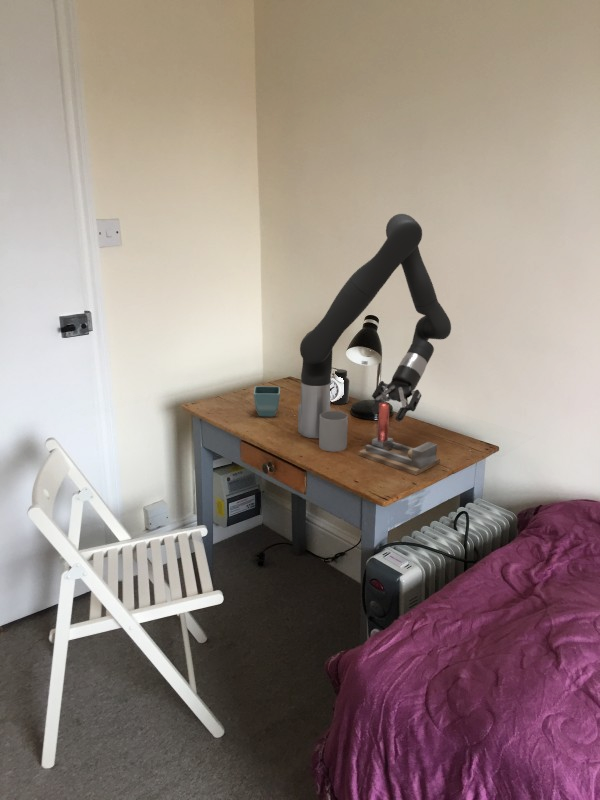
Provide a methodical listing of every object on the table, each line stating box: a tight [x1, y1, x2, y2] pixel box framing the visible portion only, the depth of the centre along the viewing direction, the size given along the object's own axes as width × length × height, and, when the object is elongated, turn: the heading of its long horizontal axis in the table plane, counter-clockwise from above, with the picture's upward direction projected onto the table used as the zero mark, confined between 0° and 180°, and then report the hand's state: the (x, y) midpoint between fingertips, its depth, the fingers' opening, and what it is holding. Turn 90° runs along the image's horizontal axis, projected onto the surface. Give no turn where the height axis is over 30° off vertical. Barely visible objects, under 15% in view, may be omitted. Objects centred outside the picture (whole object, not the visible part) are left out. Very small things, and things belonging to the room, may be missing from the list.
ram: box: [371, 401, 394, 451], centre depth 191 cm, size 4×5×14 cm
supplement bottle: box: [334, 368, 350, 405], centre depth 237 cm, size 7×7×12 cm
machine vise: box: [358, 441, 441, 476], centre depth 188 cm, size 20×12×6 cm, turn 47°
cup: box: [318, 410, 349, 452], centre depth 197 cm, size 8×8×10 cm
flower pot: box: [253, 385, 281, 418], centre depth 224 cm, size 9×9×9 cm
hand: (385, 416), depth 190 cm, fingers open, 8 cm apart
